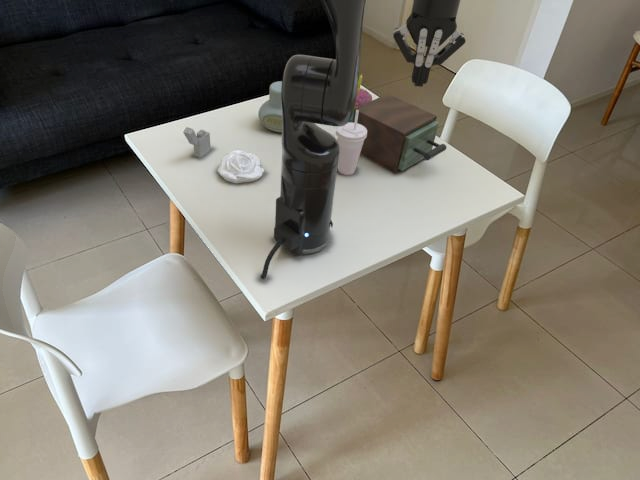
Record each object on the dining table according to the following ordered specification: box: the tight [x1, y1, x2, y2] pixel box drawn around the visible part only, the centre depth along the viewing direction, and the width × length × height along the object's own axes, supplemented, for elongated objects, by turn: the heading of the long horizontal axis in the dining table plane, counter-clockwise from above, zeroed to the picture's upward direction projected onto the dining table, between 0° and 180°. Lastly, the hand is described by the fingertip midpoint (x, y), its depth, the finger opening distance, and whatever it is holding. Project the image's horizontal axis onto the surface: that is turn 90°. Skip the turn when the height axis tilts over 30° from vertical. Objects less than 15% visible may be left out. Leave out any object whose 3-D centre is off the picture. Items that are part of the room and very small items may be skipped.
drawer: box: [398, 120, 447, 172], centre depth 115 cm, size 17×10×8 cm, turn 43°
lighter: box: [182, 126, 212, 159], centre depth 114 cm, size 7×2×8 cm, turn 151°
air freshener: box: [258, 80, 282, 133], centre depth 124 cm, size 11×8×10 cm
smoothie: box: [335, 110, 367, 176], centre depth 110 cm, size 6×6×14 cm
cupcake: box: [349, 73, 373, 122], centre depth 128 cm, size 9×8×12 cm
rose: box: [217, 149, 265, 184], centre depth 111 cm, size 10×4×10 cm
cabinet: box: [351, 93, 438, 174], centre depth 117 cm, size 14×12×10 cm
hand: (418, 84), depth 98 cm, fingers closed
